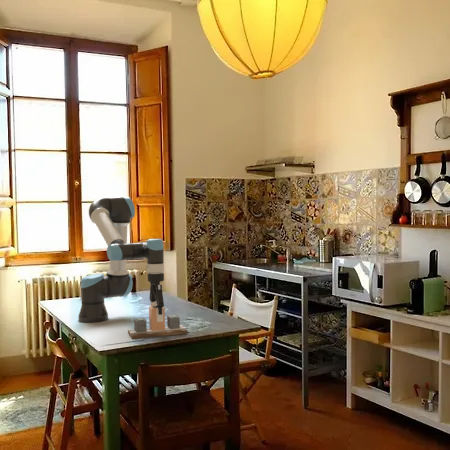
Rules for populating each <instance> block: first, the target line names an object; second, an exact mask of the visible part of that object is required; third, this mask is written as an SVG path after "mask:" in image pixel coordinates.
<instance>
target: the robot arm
mask: <svg viewBox="0 0 450 450" xmlns="http://www.w3.org/2000/svg"><path fill="white" fill-rule="evenodd" d="M135 209H136V208H135V203H134V202H133V200H132V199H131V198H130V197H129V196H100V197H97V198H96V199H94V200H93V201H92V202H91V204H90V205H89V208H88V216H89V219H90V221H91V222H92V224H95V226H96V227H97V229H98V231H99V232H100V234H101V236H102V237H103V239H104V241H105V243H106V245H107V248H106V254H107V259H109V269H108V270H107V271H106V275H104V273H95V274H89V275H86V276H84V277H82V278H81V280H80V289H81V291H80V297H81V306H80V310H79V314H78V321H79V322H81V323H97V322H103V321H104V322H105V321H106V320H108V319H109V314H108V313H109V312H108V311H107V307H106V305H105V299H110V298H119V297H120V298H122V297H126V296H129V295H130V293H131V292H132V289H133V283H134V282H133V276H132V275H131V274H130V272H129V270H128V269H127V260H141V259H146V261H147V262H146V266H145V267H146V269H147V282H149V283H150V287H149V288H150V289H149V302H150V307H151V306H156V308H157V322H162V321H163V307H164V306H165V303H164V295H163V285H162V284H161V282H164V281H165V273H164V272H165V263H164V261H165V260H164V258H165V257H164V252H165V251H164V241H163V239H161V238H149V239H147V240H146V241H141V242H131V243H129V242H128V226H129V224H131V220H132V219H134V218H135V214H136V210H135Z"/></svg>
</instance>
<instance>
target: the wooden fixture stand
mask: <svg viewBox="0 0 450 450" xmlns="http://www.w3.org/2000/svg"><path fill="white" fill-rule="evenodd" d="M166 321H167V322H166V324H167V325H165V330H156V331H152V330H151V329H150V328H149V327H147V320H146V319H145V317H138V318H137V317H136V318H134V319H133V329H127V334H128V336H129V337H130V339H132V340H136V339H137V340H138V339H146V338H155V337H166V336H175V335H177V336H178V335H184V334H188V330H187V329H186V327H185V326H184V325H182V324H181V323H180V321H181V320H180V316H178V314H174V315H173V314H172V315H166Z"/></svg>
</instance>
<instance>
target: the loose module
mask: <svg viewBox="0 0 450 450" xmlns="http://www.w3.org/2000/svg"><path fill="white" fill-rule="evenodd" d="M165 311H166V310H165V307H164V306H163V321H162V322H157V308H156V306H151V305H150V306H149V307H148V314H149V315H148V319H149V321H148V324H149V326H148V328H150V329H151V330H152V331H156V330H165V326H166V318H165V317H166V314H165Z"/></svg>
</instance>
